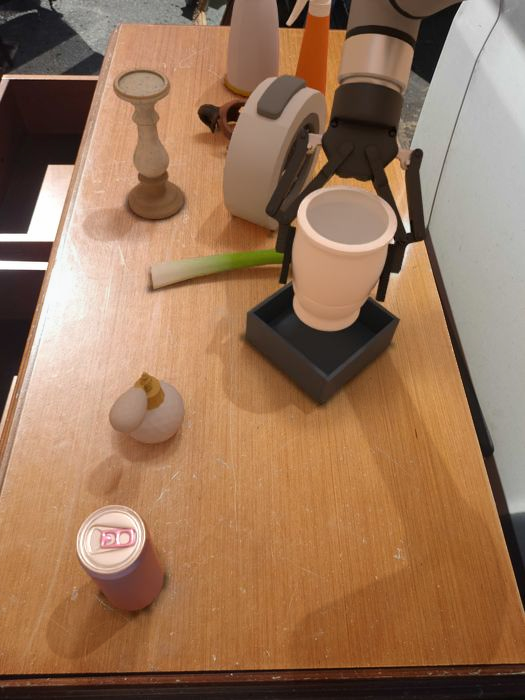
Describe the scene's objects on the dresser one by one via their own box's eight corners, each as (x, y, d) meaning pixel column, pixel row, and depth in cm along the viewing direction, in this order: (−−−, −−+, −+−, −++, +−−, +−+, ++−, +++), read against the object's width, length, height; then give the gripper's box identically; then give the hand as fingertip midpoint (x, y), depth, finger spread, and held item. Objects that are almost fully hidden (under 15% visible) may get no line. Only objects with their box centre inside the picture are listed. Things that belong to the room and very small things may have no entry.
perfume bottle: (186, 396, 71) (179, 341, 61) (186, 469, 65) (179, 420, 55) (126, 399, 70) (109, 343, 60) (121, 472, 64) (102, 424, 54)
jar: (355, 273, 74) (381, 180, 62) (377, 334, 69) (410, 246, 56) (277, 280, 73) (288, 187, 61) (293, 343, 67) (309, 255, 55)
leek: (153, 271, 85) (345, 242, 87) (157, 310, 82) (356, 279, 84) (145, 246, 79) (350, 217, 82) (149, 287, 76) (362, 255, 78)
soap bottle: (285, 73, 116) (298, -78, 95) (273, 103, 110) (285, -52, 88) (232, 64, 117) (234, -88, 96) (217, 93, 110) (216, -63, 89)
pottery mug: (260, 124, 106) (271, 101, 98) (250, 170, 104) (262, 150, 97) (198, 104, 103) (205, 79, 95) (188, 151, 102) (194, 129, 94)
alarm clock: (263, 246, 87) (272, 133, 70) (221, 229, 88) (221, 114, 72) (318, 171, 98) (337, 59, 82) (280, 158, 100) (291, 45, 83)
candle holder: (124, 188, 93) (103, 68, 76) (176, 180, 94) (166, 61, 78) (134, 224, 88) (113, 103, 71) (189, 214, 90) (181, 95, 73)
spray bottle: (265, 121, 106) (275, -37, 84) (305, 102, 110) (325, -53, 89) (291, 139, 103) (308, -20, 82) (331, 118, 108) (358, -37, 86)
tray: (390, 344, 77) (400, 319, 73) (321, 404, 71) (328, 381, 66) (315, 286, 82) (320, 259, 78) (245, 337, 76) (246, 312, 72)
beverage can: (163, 610, 56) (146, 573, 44) (102, 614, 56) (68, 578, 43) (164, 549, 60) (149, 500, 47) (108, 553, 59) (77, 503, 47)
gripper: (467, 116, 63) (424, 307, 67) (268, 84, 65) (237, 273, 69) (488, 97, 56) (438, 313, 60) (262, 62, 57) (228, 275, 61)
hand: (330, 292), depth 64 cm, fingers closed on jar, 11 cm apart
